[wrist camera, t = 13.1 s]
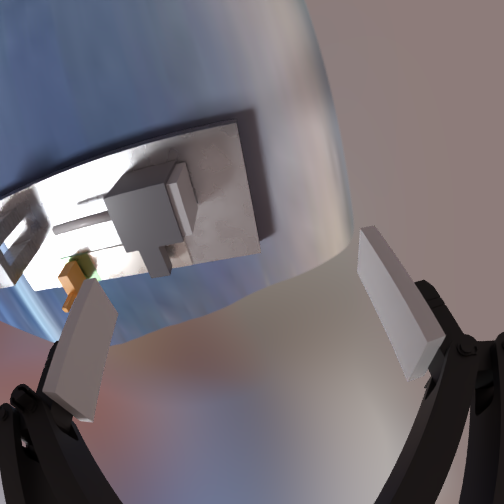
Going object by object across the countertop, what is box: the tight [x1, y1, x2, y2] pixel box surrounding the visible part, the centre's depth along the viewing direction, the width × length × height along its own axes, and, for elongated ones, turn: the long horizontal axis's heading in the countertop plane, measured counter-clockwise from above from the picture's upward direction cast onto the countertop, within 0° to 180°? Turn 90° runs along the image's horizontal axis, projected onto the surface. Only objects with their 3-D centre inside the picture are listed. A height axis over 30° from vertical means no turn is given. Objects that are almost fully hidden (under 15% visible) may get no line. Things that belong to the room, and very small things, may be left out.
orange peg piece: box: [57, 261, 86, 312], centre depth 27 cm, size 2×3×5 cm, turn 10°
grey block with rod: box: [52, 160, 198, 278], centre depth 25 cm, size 14×10×5 cm
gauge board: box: [0, 119, 261, 291], centre depth 25 cm, size 30×13×8 cm, turn 99°
